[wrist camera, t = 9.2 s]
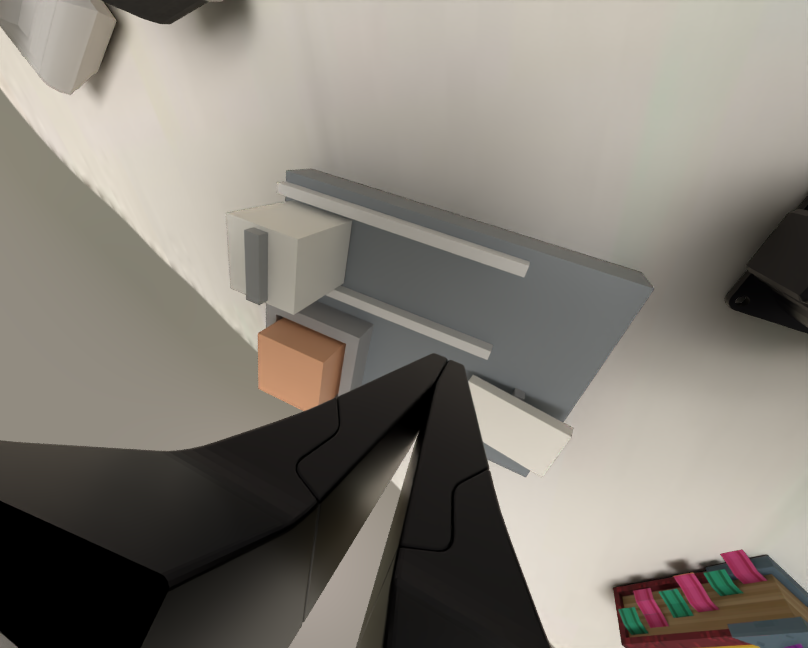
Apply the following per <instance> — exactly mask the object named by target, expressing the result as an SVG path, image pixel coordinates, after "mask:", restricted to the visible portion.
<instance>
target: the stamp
mask: <svg viewBox="0 0 808 648" xmlns="http://www.w3.org/2000/svg"><path fill="white" fill-rule="evenodd" d="M116 21H117V20H116V19H115V18H114V16H113V15H112V13H111V12H110V11H109V9H108V8H107V6H106V5H105V3H104V2H103V1H101V0H0V26H1V28H2V29H3V30H4V32H5V33H6V34H7V36H8V37H9V38H10V39H11V41H12V42H13V43H14V45H15V46H16V47H17V48H18V50H19V51H20V52H21V54H22V56H23V57H25V59H26V60H27V61H28V63H29V64H30V65H31V67H32V68H33V69H34V70H35V72H36V73H37V74H38V76H39V77H40V78H41V79H42V80H43V81H44V82H45V83H46V84H47V85H48V86H50V87H51V88H53V89H55V90H57V91H59V92H62V93H66V94H69V95H71V94H72V93H73V92H74V91H75V90H77V89H79V88H80V87H81V86H82V85H83V84H84V83H85V82H86V81H87V80H88V79H89V78H90V77H91V76H92V75H94V74H96V73H98V70H99V67H100V64H101V62H102V59H103V56H104V54H105V51H106V48H107V45H108V43H109V40H110V37H111V35H112V32H113V29H114V26H115V24H116Z"/></svg>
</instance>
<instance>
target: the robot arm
mask: <svg viewBox="0 0 808 648" xmlns="http://www.w3.org/2000/svg"><path fill="white" fill-rule="evenodd" d="M747 269H748V270H747V271H746V272H745V273H744V274H743V276H742V277H741V278H740V279H739V281H738V282H737V283H736V284H735V285H734V287H733V288H732V289H731V290H730V292H729V293H728V294H727V296H726V297H725V302H726V304H727V305H728V306H729V307H730V308H732V309H733V310H736V311H739V312H742V313H745V314H748V315H751V316H754V317H758V318H761V319H764V320H767V321H770V322H773V323H776V324H780V325H783V326H786V327H789V328H792V329H795V330H798V331H801V332H805V333H808V196H807V197H806V199H805V200H804V201H803V202H802V204H801V205H800V206H799V207H798V208H797V210H795V211H792V212H790V213H788V214H787V216H786V217H785V218H784V219H783V221H782V222H781V223H780V224H779V225H778V227H777V228H776V229H775V230H774V232H773V233H772V234H771V235H770V237H769V238H768V239H767V240H766V241H765V243H764V244H763V245H762V246H761V248H760V249H759V250H758V251H757V253H756V254H755V255H754V256H753V258H752V259H751V260H750V261H749V262H748V264H747ZM742 296H745V297H746V298H745V300H744V301H743V302H740V303H735V301H736V299H737V298H739V297H742ZM417 435H418V436H417ZM416 437H417V439H416ZM415 439H416V442H415V445H414V448H413V452H412V455H411V459H410V462H409V465H408V469H407V472H406V476H405V479H404V483H403V486H402V490H401V493H400V497H399V500H398V504H397V507H396V511H395V514H394V517H393V521H392V524H391V528H390V532H389V535H388V538H387V542H386V545H385V549H384V552H383V555H382V559H381V562H380V566H379V569H378V573H377V576H376V580H375V583H374V587H373V590H372V594H371V597H370V601H369V604H368V607H367V611H366V614H365V618H364V622H363V625H362V628H361V632H360V635H359V639H358V642H357V646H356V648H551V646H550V643H549V641H548V639H547V636H546V634H545V631H544V629H543V626H542V623H541V621H540V618H539V615H538V613H537V610H536V607H535V604H534V602H533V599H532V596H531V594H530V591H529V588H528V586H527V583H526V580H525V577H524V575H523V572H522V569H521V567H520V564H519V561H518V559H517V556H516V553H515V550H514V548H513V545H512V542H511V539H510V537H509V534H508V531H507V528H506V525H505V522H504V519H503V516H502V513H501V510H500V506H499V503H498V499H497V496H496V492H495V489H494V485H493V480H492V476H491V472H490V471H489V465H488V460H487V456H486V452H485V448H484V444H483V440H482V436H481V432H480V428H479V424H478V420H477V415H476V411H475V407H474V403H473V399H472V395H471V391H470V387H469V383H468V379H467V374H466V370H465V367H464V365H463V364H460V363H458V362H455V361H453V360H449V361H448V359H447V358H446V357H443V356H441V355H438V354H436V353H432V354H429V355H427V356H425V357H423V358H421V359H418V360H416V361H414V362H412V363H410V364H408V365H405V366H403V367H401V368H399V369H397V370H394V371H392V372H390V373H388V374H386V375H384V376H381V377H379V378H377V379H375V380H373V381H371V382H368V383H366V384H364V385H362V386H360V387H357V388H355V389H353V390H351V391H349V392H347V393H344V394H342V395H340V396H338V397H337V398H333V399H331V400H329V401H327V402H324V403H322V404H320V405H318V406H315V407H313V408H310V409H308V410H306V411H303V412H301V413H298V414H296V415H293V416H290V417H288V418H285V419H282V420H279V421H276V422H273V423H270V424H267V425H264V426H261V427H259V428H256V429H253V430H250V431H247V432H244V433H241V434H238V435H235V436H232V437H229V438H226V439H223V440H220V441H217V442H214V443H211V444H207V445H204V446H200V447H196V448H191V449H184V450H177V451H152V450H137V449H120V448H104V447H88V446H72V445H56V444H39V443H23V442H11V441H1V440H0V648H288V647H289V646H290V644H291V642H292V641H293V639H294V638H295V636H296V634H297V632H298V631H299V629H300V628H301V626H302V622H304V621H305V619H306V618H307V616H308V615H309V613H310V611H311V609H312V608H313V606H314V605H315V603H316V601H317V600H318V598H319V596H320V595H321V593H322V591H323V590H324V588H325V587H326V585H327V583H328V582H329V580H330V578H331V577H332V575H333V574H334V572H335V570H336V569H337V567H338V565H339V563H340V562H341V561H342V559H343V557H344V556H345V554H346V552H347V551H348V549H349V547H350V546H351V544H352V543H353V541H354V539H355V538H356V536H357V534H358V533H359V531H360V529H361V528H362V526H363V525H364V523H365V521H366V520H367V518H368V516H369V515H370V513H371V511H372V509H373V508H374V506H375V505H376V503H377V502H378V500H379V498H380V496H381V495H382V493H383V492H384V490H385V488H386V487H387V485H388V484H389V482H390V480H391V479H392V477H393V475H394V474H395V472H396V470H397V469H398V467H399V466H400V464H401V462H402V461H403V459H404V457H405V456H406V454H407V452H408V451H409V449H410V448H411V446H412V444H413V442H414V441H415Z"/></svg>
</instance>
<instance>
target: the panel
mask: <svg viewBox="0 0 808 648" xmlns="http://www.w3.org/2000/svg"><path fill="white" fill-rule="evenodd" d="M277 194H280V195H283V196H286V198H285V202H287V201H292V200H294V201H297V202H300V203H303V204H306V205H308V206H311V207H314V208H317V209H320V210H323V211H326V212H329V213H332V214H335V215H338V216H341V217H344V218H347V219H349V220H352V227H351V234H350V241H349V249H348V256H347V263H346V270H345V278H344V283H343V284H342V285H340V286H338V287H337V288H335V289H334V290H332V291H331V292H329V293H328V294H326V295H324V296H323V297H321V298H320V299H318V300H317V301H315V302H313V303H312V304H310V305H309V306H307V307H306V308H304V309H302V310H301V311H299V312H298V313H296V314H295V315H292V314H290V313H288V312H285V311H283V310H281V309H278V308H276V307H274V306H271V305H269V304H267V303H266V328H267V327H269V326H270V325H272V324H274V323H275V322H277V321H278V320H280V319H282V318H283V317H284V318H287V319H289V320H291V321H294V322H296V323H298V324H301V325H303V326H305V327H308V328H310V329H312V330H315V331H317V332H319V333H322V334H324V335H326V336H329V337H331V338H333V339H336V340H338V341H340V342H343V343H345V344H346V348H345V354H344V361H343V367H342V373H341V380H340V386H339V392H338V394H337V395H336V396H335V397H334V398H337V397H338V396H340V395H342V394H344V393H347V392H349V391H351V390H353V389H355V388H357V387H360V386H362V385H364V384H366V383H368V382H371V381H373V380H375V379H377V378H379V377H381V376H384V375H386V374H388V373H390V372H392V371H394V370H397V369H399V368H401V367H403V366H405V365H408V364H410V363H412V362H414V361H416V360H418V359H421V358H423V357H425V356H427V355H429V354H432V353H436V354H438V355H441V356H443V357H446V358H447V359H448V361H449V360H453V361H455V362H458V363H460V364H463V365H464V367H465V370H466V374H467V379H468V381H469V380H470V378H471V377H472V375H475V376H477V377H479V378H481V379H482V380H484V381H486V382H488V383H490V384H492V385H494V386H496V387H497V388H499V389H501V390H503V391H505V392H507V393H509V394H511V395H512V396H514V397H516V398H518V399H520V400H522V401H524V402H526V403H527V404H529V405H531V406H533V407H535V408H537V409H539V410H540V411H542V412H544V413H546V414H548V415H550V416H552V417H554V418H555V419H557V420H559V421H561V422H564V421H565V419H566V418H567V416H568V415H569V413H570V412H571V410H572V409H573V407H574V406H575V404H576V403H577V402H578V400H579V399H580V397H581V396H582V394H583V393H584V391H585V390H586V388H587V387H588V385H589V384H590V383H591V381H592V380H593V378H594V377H595V375H596V374H597V372H598V371H599V369H600V368H601V366H602V365H603V363H604V362H605V361H606V359H607V358H608V356H609V355H610V353H611V352H612V350H613V349H614V347H615V346H616V344H617V343H618V342H619V340H620V339H621V337H622V336H623V334H624V333H625V331H626V330H627V328H628V327H629V325H630V324H631V322H632V321H633V320H634V318H635V317H636V315H637V314H638V312H639V311H640V309H641V308H642V306H643V305H644V303H645V302H646V300H647V299H648V298H649V296H650V295H651V293H652V292H653V290H654V288H653V286H652V285H651V284H650V282H649V281H648V280H647V279H646V277H645V276H644V275H643V274H642V272H639V271H635V270H632V269H629V268H626V267H623V266H619V265H616V264H613V263H610V262H607V261H604V260H600V259H597V258H594V257H591V256H588V255H584V254H581V253H578V252H575V251H572V250H569V249H565V248H562V247H559V246H556V245H553V244H549V243H546V242H543V241H540V240H537V239H534V238H530V237H527V236H524V235H521V234H518V233H514V232H511V231H508V230H505V229H502V228H499V227H495V226H492V225H489V224H486V223H483V222H479V221H476V220H473V219H470V218H467V217H464V216H460V215H457V214H454V213H451V212H448V211H444V210H441V209H438V208H435V207H432V206H429V205H425V204H422V203H419V202H416V201H413V200H409V199H406V198H403V197H400V196H397V195H394V194H390V193H387V192H384V191H381V190H378V189H374V188H371V187H368V186H365V185H362V184H359V183H355V182H352V181H349V180H346V179H343V178H339V177H336V176H333V175H330V174H327V173H324V172H320V171H317V170H314V169H301V170H286V181H285V182H277ZM483 444H484V448H485V452H486V456H487V460H490V461H492V462H494V463H496V464H498V465H500V466H503V467H505V468H507V469H509V470H511V471H513V472H515V473H518V474H520V475H522V476H524V477H526V476H527V475H528V473H529V472H530V470H528V469H527V468H525V467H523V466H522V465H520V464H519V463H517V462H515V461H514V460H512V459H510V458H509V457H507V456H505V455H504V454H502V453H500V452H499V451H497V450H495V449H494V448H492V447H490V446H489V445H487V444H485V443H484V442H483Z"/></svg>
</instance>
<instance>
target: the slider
mask: <svg viewBox="0 0 808 648" xmlns="http://www.w3.org/2000/svg"><path fill="white" fill-rule="evenodd" d="M226 224H227V240H228V257H229V273H230V288H231V289H234V290H236V291H238V292H241V293H243V294H245V295H246V300H249V301H251V302H253V303H256V304H258V305H260V304H262V303H267V304H269V305H271V306H274V307H276V308H278V309H281V310H283V311H285V312H288V313H290V314H292V315H295V314H296V313H298V312H299V311H301V310H302V309H304V308H306V307H307V306H309V305H310V304H312V303H313V302H315V301H317V300H318V299H320V298H321V297H323V296H324V295H326V294H328V293H329V292H331V291H332V290H334V289H335V288H337V287H338V286H340V285H342V284H343V283H344V278H345V270H346V263H347V256H348V249H349V241H350V234H351V227H352V220H349V219H347V218H344V217H341V216H338V215H335V214H332V213H329V212H326V211H323V210H320V209H317V208H314V207H311V206H308V205H306V204H303V203H300V202H297V201H294V200H292V201H287V202H281V203H276V204H271V205H265V206H260V207H254V208H249V209H243V210H238V211H233V212H227V213H226Z"/></svg>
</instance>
